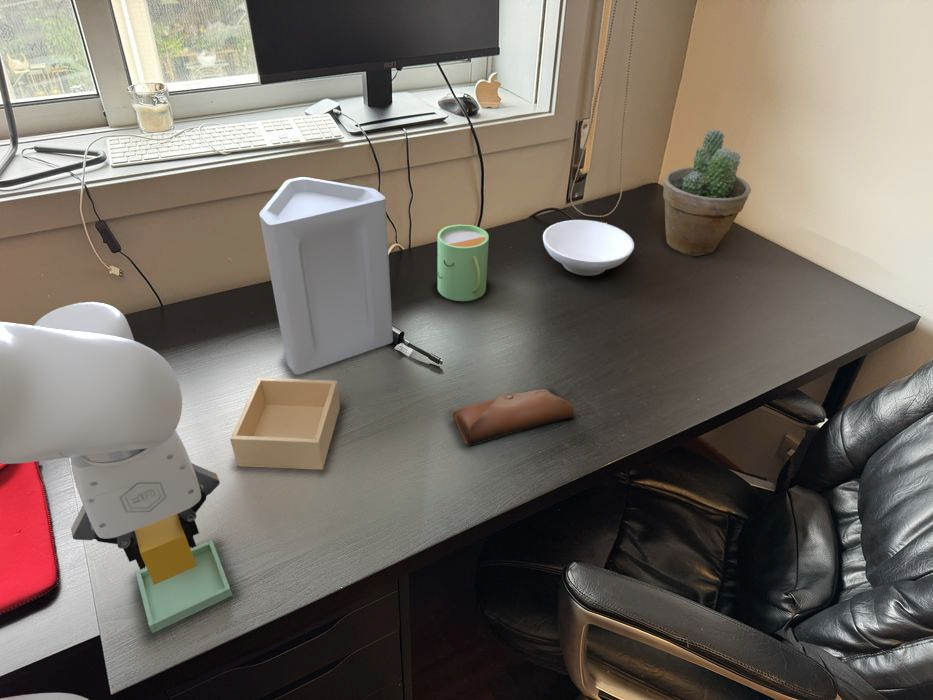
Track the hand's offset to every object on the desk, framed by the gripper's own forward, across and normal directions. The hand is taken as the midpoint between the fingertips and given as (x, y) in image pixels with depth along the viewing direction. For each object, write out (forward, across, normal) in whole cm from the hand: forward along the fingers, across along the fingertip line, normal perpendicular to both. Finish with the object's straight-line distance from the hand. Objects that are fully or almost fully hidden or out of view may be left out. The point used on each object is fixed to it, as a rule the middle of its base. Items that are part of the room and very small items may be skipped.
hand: (165, 547), depth 71 cm
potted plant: (+7, +123, +32) cm, 127 cm away
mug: (+7, +65, +41) cm, 77 cm away
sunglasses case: (+8, +51, +5) cm, 52 cm away
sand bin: (+8, +20, +19) cm, 29 cm away
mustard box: (+2, 0, 0) cm, 2 cm away
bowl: (+7, +94, +36) cm, 101 cm away
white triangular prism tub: (+8, +35, +40) cm, 54 cm away
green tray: (+9, 0, +1) cm, 9 cm away
